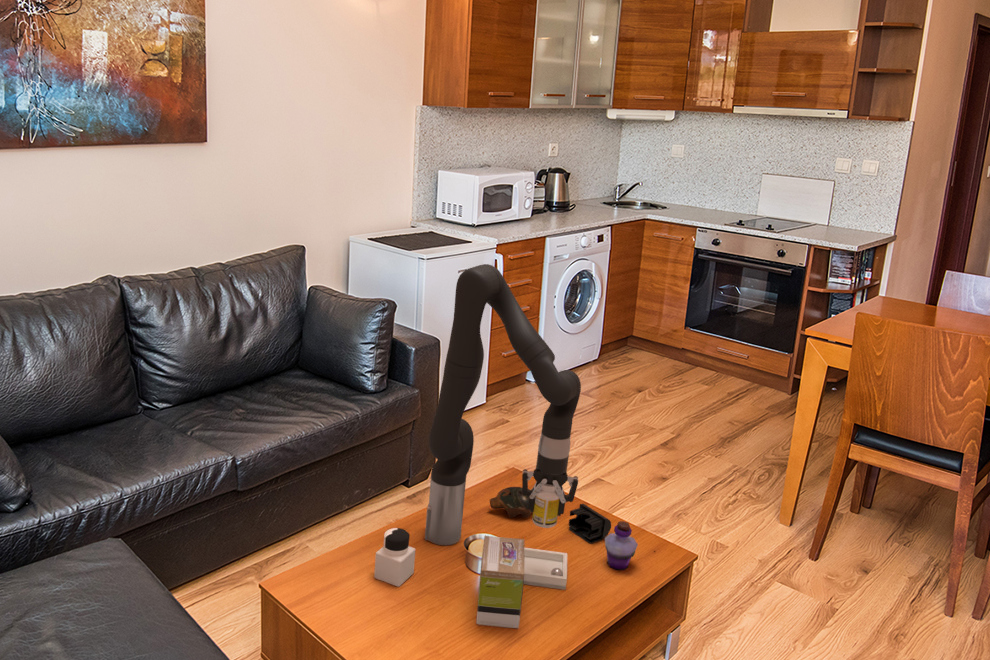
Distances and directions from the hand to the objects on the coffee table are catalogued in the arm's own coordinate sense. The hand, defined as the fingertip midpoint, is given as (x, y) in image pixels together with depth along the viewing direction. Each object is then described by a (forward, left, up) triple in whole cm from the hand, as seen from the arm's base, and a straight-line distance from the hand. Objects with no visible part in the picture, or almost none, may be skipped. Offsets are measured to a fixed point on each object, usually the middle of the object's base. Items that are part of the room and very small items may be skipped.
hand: (545, 512), depth 207 cm
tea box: (-9, -17, -17) cm, 26 cm away
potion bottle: (+21, +9, -17) cm, 28 cm away
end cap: (+13, +23, -17) cm, 32 cm away
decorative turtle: (-8, +29, -17) cm, 35 cm away
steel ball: (+5, -4, -16) cm, 17 cm away
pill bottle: (0, 0, -3) cm, 3 cm away
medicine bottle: (-35, -10, -17) cm, 40 cm away
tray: (0, 0, -17) cm, 17 cm away
